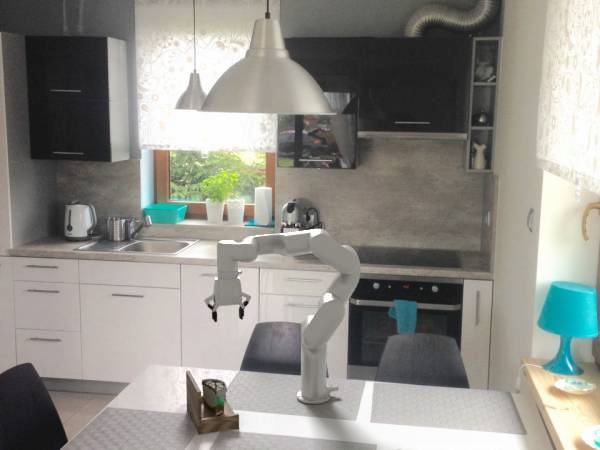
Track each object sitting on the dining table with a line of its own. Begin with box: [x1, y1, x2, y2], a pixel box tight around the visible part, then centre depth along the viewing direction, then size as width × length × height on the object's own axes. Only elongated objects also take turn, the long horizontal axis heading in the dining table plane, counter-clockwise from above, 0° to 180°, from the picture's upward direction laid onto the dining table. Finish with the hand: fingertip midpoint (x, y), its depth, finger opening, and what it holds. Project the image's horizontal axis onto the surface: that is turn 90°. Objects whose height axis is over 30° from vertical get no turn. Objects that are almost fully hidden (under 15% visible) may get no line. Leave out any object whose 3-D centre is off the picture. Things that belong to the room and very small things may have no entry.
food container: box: [201, 378, 228, 417], centre depth 248 cm, size 12×6×10 cm, turn 33°
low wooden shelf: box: [185, 370, 240, 436], centre depth 247 cm, size 14×20×15 cm
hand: (228, 319), depth 262 cm, fingers open, 9 cm apart
